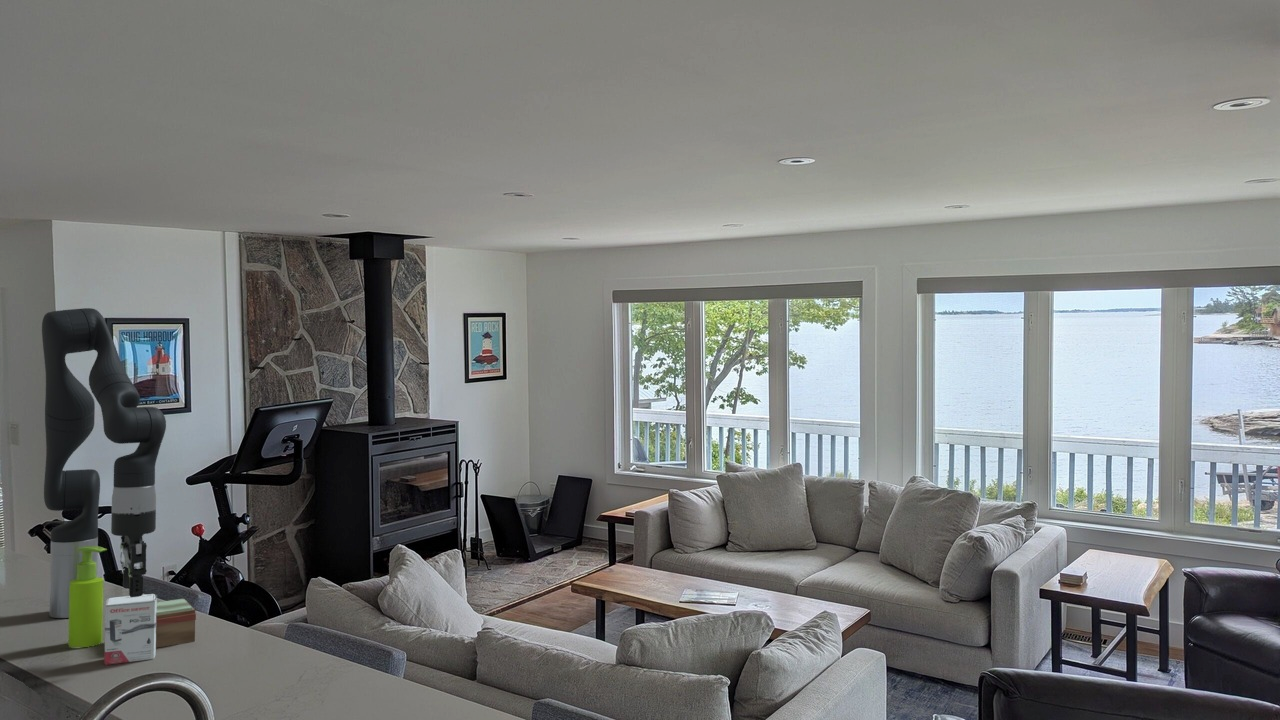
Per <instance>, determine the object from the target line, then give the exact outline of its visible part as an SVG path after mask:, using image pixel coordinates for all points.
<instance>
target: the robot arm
mask: <svg viewBox="0 0 1280 720" xmlns="http://www.w3.org/2000/svg"><path fill="white" fill-rule="evenodd" d="M41 337H42V349H43V350H42V351H43V357H44V358H43V360H44V369H45V404H44V426H45V428H44V429H45V442H46V443H45V445H46V450H45V453H46V454H45V468H44V482H43V483H44V484H43V501H44V504H45V507H46V508H47V509H48V510H50V511H53V512H54V511H55V512H56V511H57V512H60V511H73V510H74V511H75V510H76V511H77V510H81V511H82V512H81V513H80V514H79V515H78V516H77V517H75V518H73V519H72V520H70V521H68V522H66V523H62V524H58V525H56V526H55V527H53V528H52V529H51V530H50V531H51V532H50V560H49V561H50V563H49V564H50V568H49V569H50V572H49V613H48V614H49V617H50V618H56V619H66V618H67V619H69V586H70V581H72V580H75V579H77V564H79V563H80V562H82V551H78V548H81V547H87V546H98V547H99V545H98V544H99V505H100V493H101V492H100V491H101V477H100V474H99V472H98V471H97V470H96V469H93V468H91V469H71V470H70V469H69V470H67V469H66V470H64V468H65V465H66V464H67V462H68V460H69V459H70V457H71V456H72V455H73V454H74V453H75V451H76V450H77V449H78V448H79V447H80V446H82V444H83V443H84V442H85V441H86V440H87V439H88V438H89V437H90V435H91V434H92V432H93V430H94V427H95V417H96V416H95V414H96V411H95V408H96V407H95V406H96V404H95V403H96V402H95V401H97V403H98V404H99V407H100V409H101V415H102V416H101V417H102V422H103V432H104V435H105V436H106V438H107V439H108V440H109V441H111V442H113V443H114V444H119V445H120V444H121V445H123V444H124V445H126V444H138V446H137V448H136V449H135V450H134V452H132V453H129V454H126V455H122V456H119V457H117V458H116V459H115V461H114V463H113V489H112V496H111V518H110V519H111V520H110V521H111V523H110V525H111V526H110V532H111V534H112V535H113V536H118V537H120V541H121V543H120V546H119V547H120V560H119V562H120V564H121V569H122V570H123V571H122V587H123V588H124V589H128V596H130V597H138V596H142V595H144V576H145V575H146V574H147V546H148V545H147V542H145V540H143V539H144V538H143V536H144V535H145V534H146V535H148V534H151V533H154V532H155V531H156V526H157V525H156V524H157V517H156V516H157V493H156V486H155V485H156V462H157V459H158V455H159V453H160V452H159V451H160V449H161V445H162V442H163V440H164V437H165V432H166V431H167V420H166V417H165V415H164V413H163V412H162V410H160V409H159V408H157V407H155V406H154V407H153V406H142V407H141V406H139V404H140V402H141V401H140V400H141V397H140V394H139V393H140V392H138V390H137V388H136V386H135V385H134V384H133V382H132V379H130V377H129V375H128V374H127V372H126V371H125V369H124V367H123V364H122V361H121V358H120V355H119V353H118V351H117V347H116V345H115V342H114V340H113V337H112V335H111V332H110V329H109V326H108V324H107V322H106V320H105V318H104V316H103V314H101V312H100V311H98V310H97V309H95V308H89V307H88V308H87V307H86V308H83V307H82V308H73V309H63V310H52V311H48V312H46V313H45V314H44V316H43V319H42V322H41ZM91 351H96V354H97V355H96V357H95V358H96V359H95V361H94V363H93V364H92V367H91V369H90V372H89V376H88V385H89V388H90V391H91V392H90V391H89V390H88V389H87V387H86V386H85V385H84V384H82V382H81V381H79V380H78V378H77V377H76V376H75V375H74V374H73V373H72V371H71V370H70V369H69V367H68V366H67V364H66V356H67V355H69V354H74V353H75V354H76V353H83V352H91ZM91 393H92V394H91ZM92 395H93V396H92ZM94 398H95V399H96V400H95V399H94ZM98 555H99V553H97V552H94V551H92V561H94V562H96V564H97V565H96V577H98V559H99V558H98V557H99V556H98ZM137 567H139V568H137Z"/></svg>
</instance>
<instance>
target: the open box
mask: <svg viewBox="0 0 1280 720" xmlns="http://www.w3.org/2000/svg"><path fill="white" fill-rule="evenodd" d="M196 617H197V614H196V609H195V608H194V607H193V606H192V605H191V604H190V603H189V602H188V601H187V599H185V598H177V599H170V600H165V601H157V614H156V649H157V648H162V647H168V646H175V645H179V644H180V645H182V644H187V643H191V642H192V643H193V642H195V641H196V620H197V618H196Z"/></svg>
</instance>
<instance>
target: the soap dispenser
mask: <svg viewBox="0 0 1280 720" xmlns="http://www.w3.org/2000/svg"><path fill="white" fill-rule="evenodd" d="M107 550H108V549H107V548H106V547H105V548H104V547H102V546H99V545H98V546H87V547H81V548H78V551H82V562H80V563H79V564H77V579H75V580H72V581H70V586H69V618H68V644H67V645H69V646H70V647H88V648H90V647H89V646H92V647H94V646H93V645H96V646H98V645H97V644H99V643H101V642H102V643H103V627H104V625H103V623H104V622H103V620H104V618H103V617H104V616H103V615H104V578H103V577H99V576H97V577H96V565H97V564H96V562H94V561H92V551H94V552H97V553H98V554H99V553H103V552H106V551H107ZM102 643H101V644H102ZM99 645H100V644H99ZM69 646H68V647H69ZM70 647H69V648H70Z"/></svg>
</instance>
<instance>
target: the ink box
mask: <svg viewBox="0 0 1280 720" xmlns="http://www.w3.org/2000/svg"><path fill="white" fill-rule="evenodd" d="M157 600H158V595H157V594H155V593H150V594H149V593H148V594H142V596H138V597H130V596H129V595H126V596H124V595H123V596H116V597H109V598H107V599H106V602H105V614H104V615H105V617H104V620H105V622H104V656H103V657H104V662H103V663H104V665H105V666H109V665H117V664H123V663H132V662H140V661H147V660H154V659H155V657H156V653H157V651H156V650H157V648H156V614H157V602H158V601H157Z"/></svg>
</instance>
